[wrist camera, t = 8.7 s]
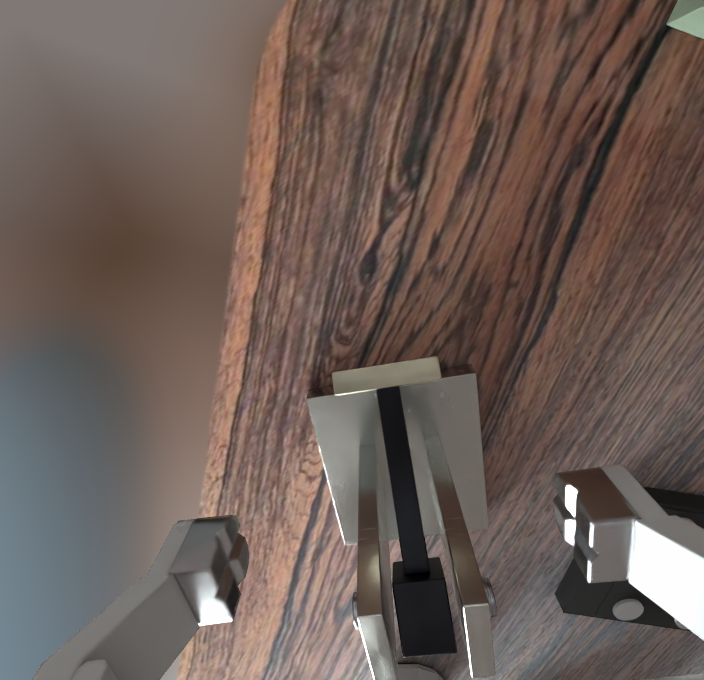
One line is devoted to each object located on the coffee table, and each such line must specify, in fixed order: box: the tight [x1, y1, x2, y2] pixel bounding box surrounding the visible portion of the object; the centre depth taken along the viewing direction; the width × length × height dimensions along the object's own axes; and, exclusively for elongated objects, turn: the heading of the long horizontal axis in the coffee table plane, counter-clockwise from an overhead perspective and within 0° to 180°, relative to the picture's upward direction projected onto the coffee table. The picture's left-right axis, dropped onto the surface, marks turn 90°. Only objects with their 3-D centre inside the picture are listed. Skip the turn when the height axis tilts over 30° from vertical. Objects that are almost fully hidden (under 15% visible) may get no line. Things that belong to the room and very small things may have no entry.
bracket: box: [306, 364, 497, 680], centre depth 21 cm, size 12×10×12 cm
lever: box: [332, 356, 457, 658], centre depth 18 cm, size 12×5×2 cm
